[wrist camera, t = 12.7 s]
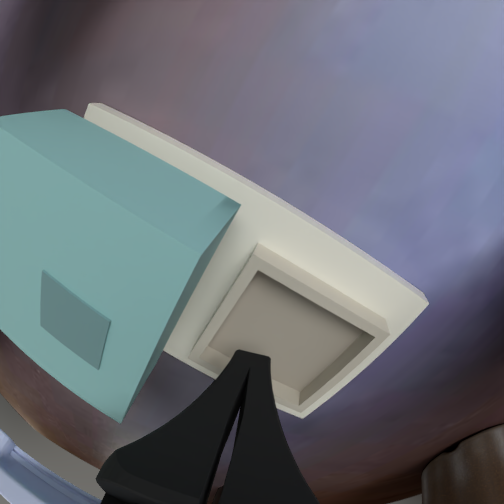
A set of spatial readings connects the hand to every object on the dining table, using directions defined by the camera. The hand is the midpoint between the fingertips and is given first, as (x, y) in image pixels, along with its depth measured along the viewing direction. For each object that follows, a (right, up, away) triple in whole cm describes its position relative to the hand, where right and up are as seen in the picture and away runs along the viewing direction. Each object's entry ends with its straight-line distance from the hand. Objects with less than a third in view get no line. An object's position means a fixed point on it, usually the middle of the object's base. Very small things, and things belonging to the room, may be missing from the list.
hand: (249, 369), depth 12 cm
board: (-2, +3, +4) cm, 5 cm away
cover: (-7, +5, +1) cm, 8 cm away
